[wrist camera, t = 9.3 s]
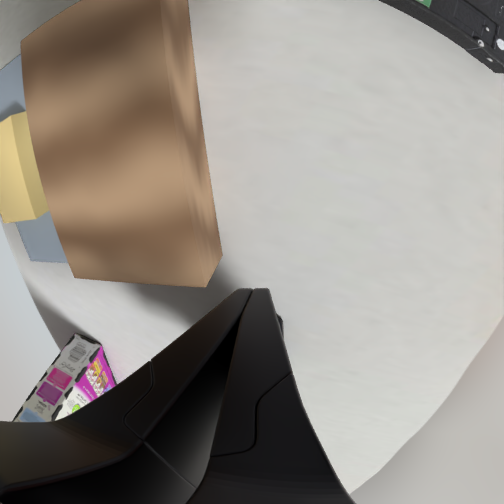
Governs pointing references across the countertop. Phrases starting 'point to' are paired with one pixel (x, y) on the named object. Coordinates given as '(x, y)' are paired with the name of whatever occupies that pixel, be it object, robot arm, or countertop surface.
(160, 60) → the deck
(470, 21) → the disk drive
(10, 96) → the mat
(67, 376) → the candy bar box
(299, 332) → the countertop surface
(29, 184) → the block
